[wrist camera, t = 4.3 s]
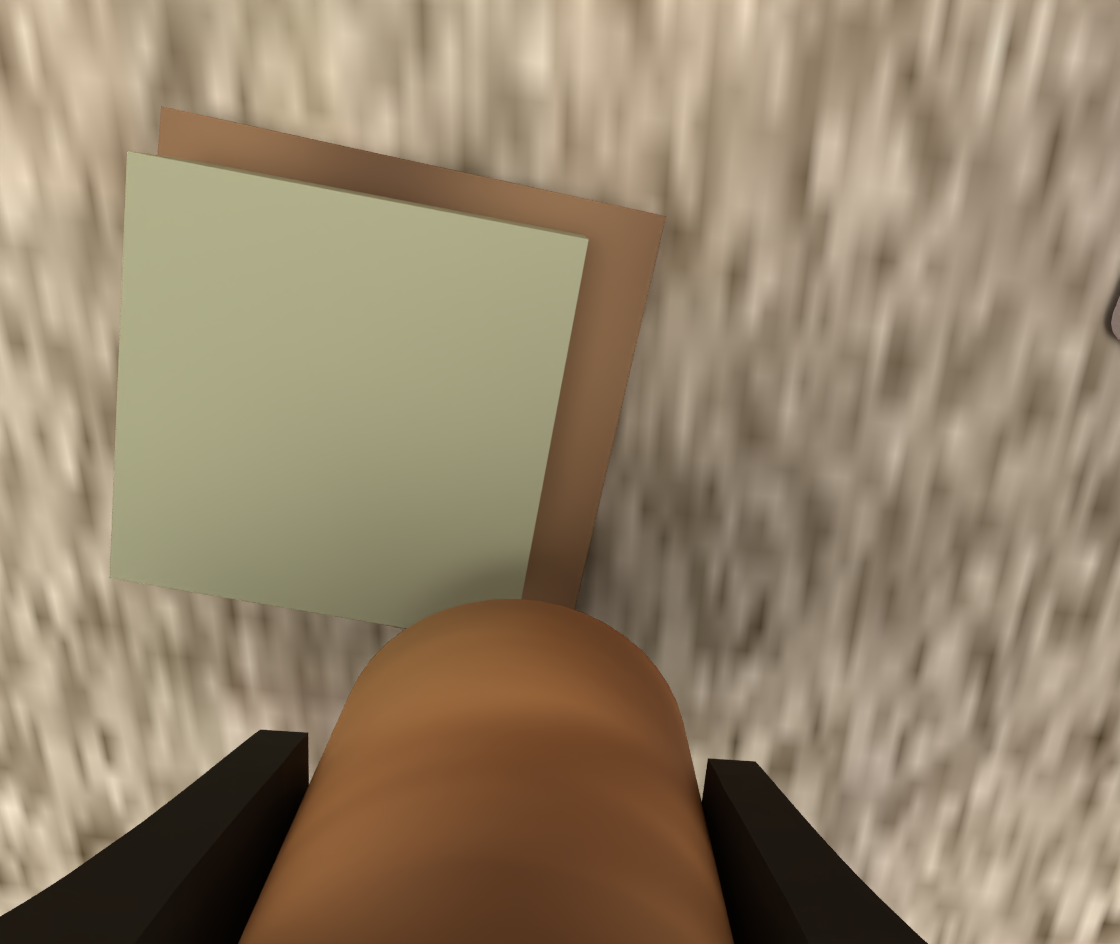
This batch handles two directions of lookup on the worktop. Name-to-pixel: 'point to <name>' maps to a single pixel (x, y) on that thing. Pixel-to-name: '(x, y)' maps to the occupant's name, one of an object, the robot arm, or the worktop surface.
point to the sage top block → (331, 393)
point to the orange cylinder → (500, 796)
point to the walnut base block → (598, 327)
